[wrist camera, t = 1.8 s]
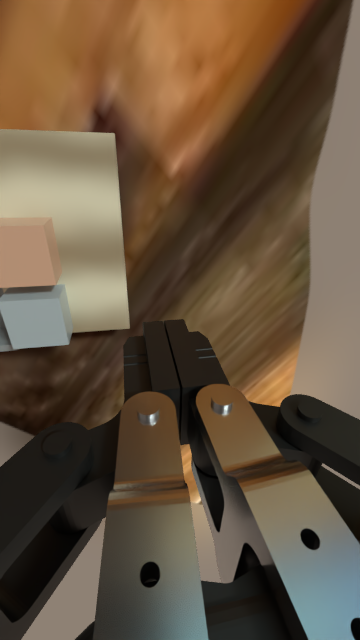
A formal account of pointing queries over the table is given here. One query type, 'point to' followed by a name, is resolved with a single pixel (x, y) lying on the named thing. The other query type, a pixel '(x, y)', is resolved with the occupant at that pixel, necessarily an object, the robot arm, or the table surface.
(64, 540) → the robot arm
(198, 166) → the table surface
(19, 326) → the blue gray block
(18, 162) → the board
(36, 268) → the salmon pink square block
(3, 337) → the tray
